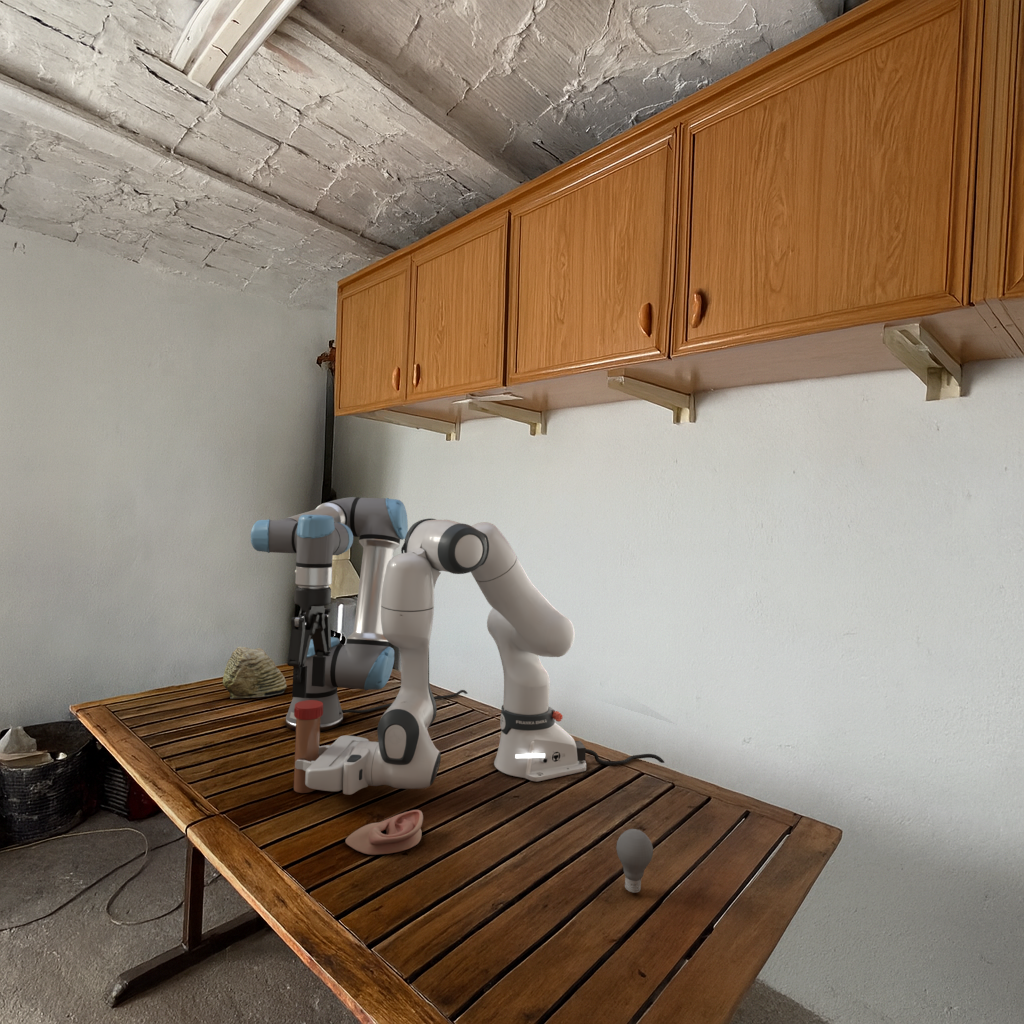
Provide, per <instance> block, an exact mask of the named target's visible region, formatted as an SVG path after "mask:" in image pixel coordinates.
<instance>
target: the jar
mask: <svg viewBox="0 0 1024 1024" xmlns="http://www.w3.org/2000/svg"><path fill="white" fill-rule="evenodd" d="M320 720H321V717H319V718H316V719H311V720H301V719H297V718H296V731H295V740H294V741H295V743H294V763H295V762H296V761H297V760H298V759H299V758H306V760H307V761H310V762H311V761H316V760H317V759H318V758H319V757H320V756H319V747H320V744H321V743H320V741H321V731H320ZM293 772H294V773H293V791H294V792H296V793H298V794H299V793H300V794H307V793H312V792H315V791H316V789H311V788H309V787H307V786H306V785H305V775H306V771H304V770H303V769H296V768H295V764H294V767H293Z"/></svg>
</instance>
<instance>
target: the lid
mask: <svg viewBox="0 0 1024 1024" xmlns="http://www.w3.org/2000/svg"><path fill="white" fill-rule="evenodd" d="M322 715H323V703H322V702H321V701H317V700H306V701H301V702H298V703H296V704H295V708H294V716H295V718H297V719H301V720H311V719H316V718H319V717H321V716H322Z"/></svg>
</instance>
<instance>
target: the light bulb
mask: <svg viewBox="0 0 1024 1024" xmlns="http://www.w3.org/2000/svg"><path fill="white" fill-rule="evenodd" d="M615 849H616V854H617V857H618V859H619V861H620V863H621V865H622V867H623V873H624V874H623V875H624V876H625V878H624V888H625V890H627V891H628V892H630V893H634V894H635V893H639V892H640V891H641V889H642V887H641V886H642V879H643V877H644V875H645V871H646V868H647V867H648V866H649V864H650V863H651V861H652V859H653V855H654V847H653V843H652V841H651V838H649V836H648V835H647V834H646V833H645V832H643V831H642V830H641V829H636V828H629V829H627V830H625V831H623V832H622V833H621V834H620V835H619V837H618V839H617V841H616V847H615Z"/></svg>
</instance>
